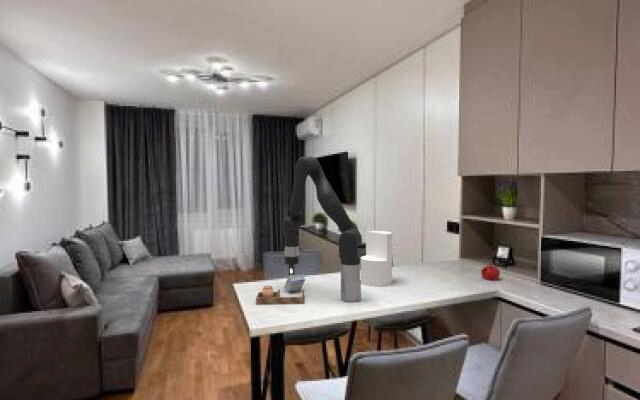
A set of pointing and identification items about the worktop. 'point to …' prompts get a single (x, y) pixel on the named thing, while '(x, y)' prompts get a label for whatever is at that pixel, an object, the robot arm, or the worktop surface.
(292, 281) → the medicine box
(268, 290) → the terracotta jar
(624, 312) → the worktop surface
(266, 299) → the caddy
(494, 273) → the pomegranate
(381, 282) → the white stepped solid
